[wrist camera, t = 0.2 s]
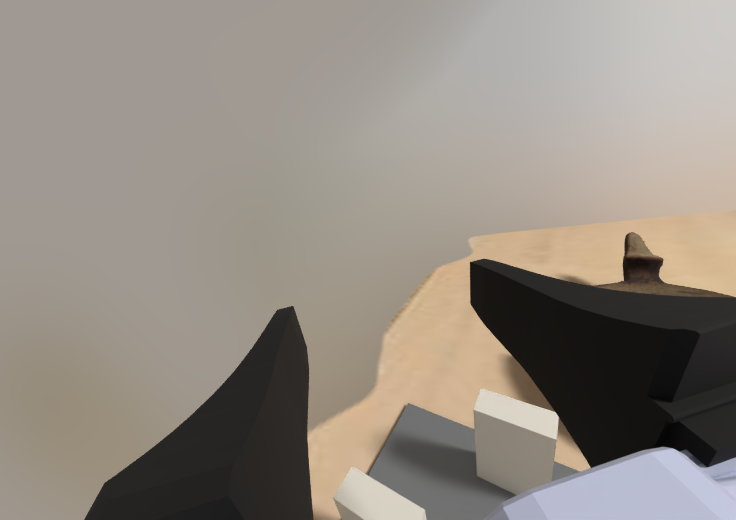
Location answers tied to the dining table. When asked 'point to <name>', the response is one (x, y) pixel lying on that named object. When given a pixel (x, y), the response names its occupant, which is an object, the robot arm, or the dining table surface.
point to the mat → (440, 468)
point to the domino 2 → (514, 442)
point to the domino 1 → (373, 500)
